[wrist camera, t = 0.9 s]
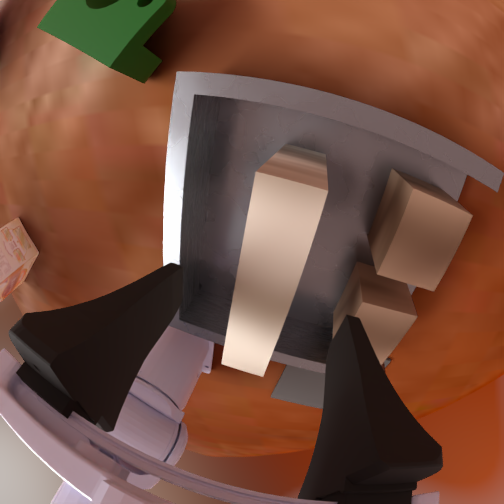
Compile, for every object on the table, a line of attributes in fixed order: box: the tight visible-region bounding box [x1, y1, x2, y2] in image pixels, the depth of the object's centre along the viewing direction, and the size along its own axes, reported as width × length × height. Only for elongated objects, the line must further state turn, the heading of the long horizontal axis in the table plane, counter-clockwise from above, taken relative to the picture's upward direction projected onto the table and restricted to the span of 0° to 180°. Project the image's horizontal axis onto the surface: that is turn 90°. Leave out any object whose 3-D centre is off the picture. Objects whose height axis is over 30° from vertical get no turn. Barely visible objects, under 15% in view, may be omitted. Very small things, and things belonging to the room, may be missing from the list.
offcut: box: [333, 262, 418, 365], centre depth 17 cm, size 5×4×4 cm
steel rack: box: [163, 72, 504, 374], centre depth 17 cm, size 18×18×5 cm
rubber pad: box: [271, 358, 391, 409], centre depth 27 cm, size 12×10×1 cm
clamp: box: [37, 0, 176, 84], centre depth 11 cm, size 12×6×9 cm, turn 47°
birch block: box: [221, 144, 328, 377], centre depth 15 cm, size 11×2×8 cm, turn 170°
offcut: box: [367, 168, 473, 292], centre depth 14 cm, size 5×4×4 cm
